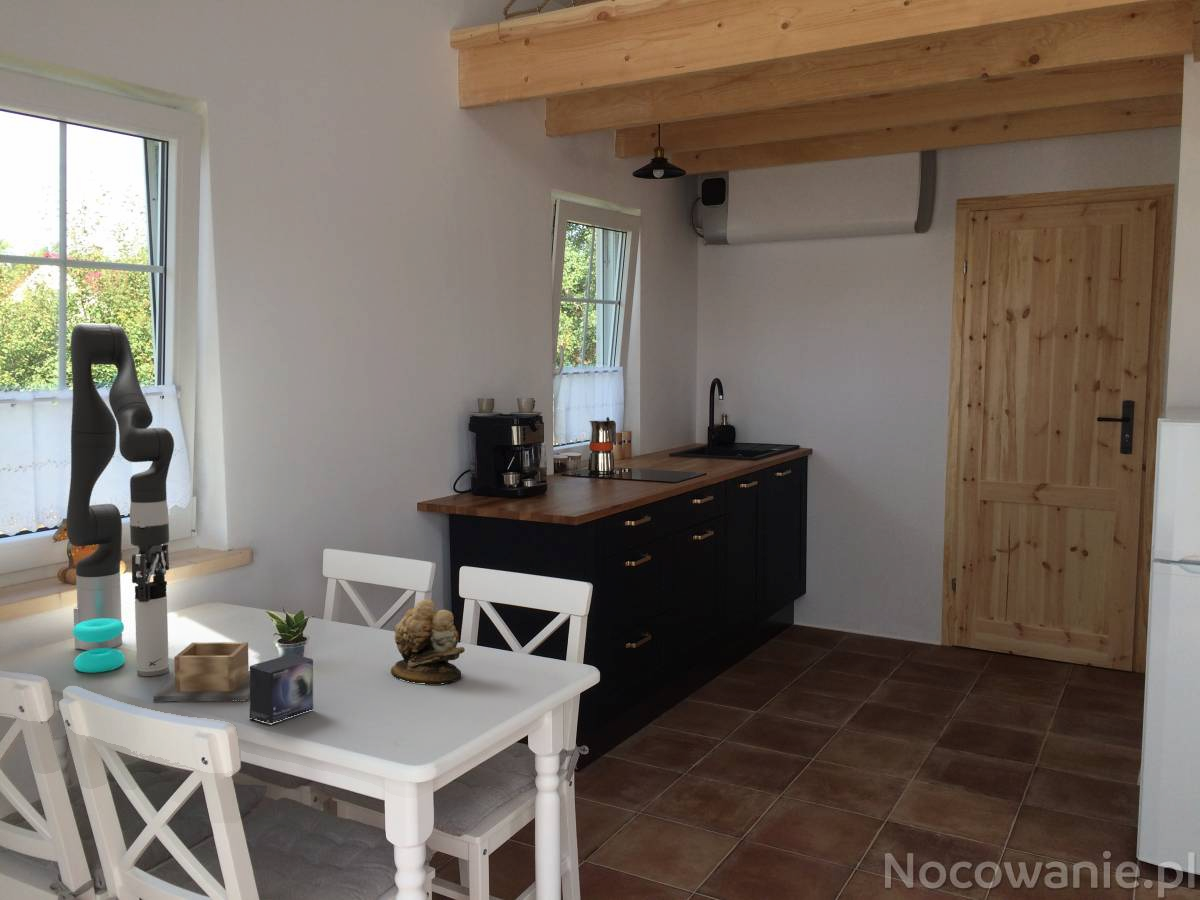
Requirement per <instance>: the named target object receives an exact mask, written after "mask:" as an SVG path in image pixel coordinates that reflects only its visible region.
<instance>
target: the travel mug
mask: <svg viewBox="0 0 1200 900" xmlns="http://www.w3.org/2000/svg"><path fill="white" fill-rule="evenodd" d="M149 584H150V601H148V602H139V601H138V585H135V586H134V609H135V610H134V611H135V613H134V614H135V617H134V618H135V643H136V645H135V648H136V649H135V650H136V652H135V654H136V674H137V675H138V676H140V677H144V676H152V677H158V675H159V676H162V675H164V673H165V674H167V673H168V672H169V670H170V665H169V631H168V628H169V627H168V599H167V598H168V595H167V585H168V582H167V580H165V581H155V582H153V581H150V582H149Z"/></svg>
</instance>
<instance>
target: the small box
mask: <svg viewBox="0 0 1200 900" xmlns="http://www.w3.org/2000/svg"><path fill="white" fill-rule="evenodd" d="M249 671H250V698H249V716H248V717H249V718H252V719H257V720H260V721H264V722H267V723H273V722H276V721H280V720H283V719H285V718H288V717H291V716H294V715H297V714H300V713H303V712H306V711H309V710H312V709H313V710H314V659H313V658H311V657H310V658H309V657H305V656H302V655H299V654H294V653H289V654H287V655H283V656H278V657H275V658H273V659H269V660H266V661H262V662H259V663H255V664H253V665H252V664H251V665H250V666H249ZM249 718H248V719H249Z"/></svg>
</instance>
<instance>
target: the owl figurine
mask: <svg viewBox="0 0 1200 900" xmlns="http://www.w3.org/2000/svg"><path fill="white" fill-rule="evenodd" d="M459 637H460V636H459V632H458V630H456V626H455V625H454V615H453V612H451V611H449V610H446V609H440V610H437V611H436V605H435V603H434V602H433V601H432V600H431V599H428V598H426V599H422V600H420V601H419V602H417V604H416V605H415V606H414V607H413V608H409V609H408V610H407V611H406V612H405V613H404V615H403V617H401V620H400V621H398V623H396V625H395V627H394V642H395V644H396V647H397V650H398V652H399V653H400V655H401V657H402V659H401V660H398V661H397V662H395V665H393V666H392V667H391V668H390V675H391V674H392V675H393V676H394V677H396V678H395V679H397V678H398V679H397V680H399V679H402V680H405V681H409V682H415V683H425V684H441V683H446V684H448V683H447V682H451V683H453V682H455V681H457V680H460V679H461V678H462V677H461V675H462V672H461V670H460V669H459V668H458V667H457V666H456V665H455V664H453V663H451V662H449V661H456V660H457V659H459V658H460V654H463V653H464V652H465V646H464V647H463V646H460V647H458V646H457V645H458V644H459V641H460V640H459ZM392 675H391V676H392ZM393 676H392V677H393ZM394 677H393V678H394ZM460 677H461V678H460ZM459 678H460V679H459ZM454 680H455V681H454ZM405 681H404V682H405ZM452 681H453V682H452ZM409 682H408V683H409Z"/></svg>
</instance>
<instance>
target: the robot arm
mask: <svg viewBox="0 0 1200 900" xmlns="http://www.w3.org/2000/svg"><path fill="white" fill-rule="evenodd" d="M70 359H71V362H70V363H71V379H72V381H71V382H72V408H71V409H72V411H71V424H70V425H71V430H70V434H71V435H70V458H71V459H70V464H71V465H70V468H71V469H70V484H69V491H68V492H69V493H68V501H67V511H66V521H65V522H66V525H65V527H66V535H67V538H68V541H69V543H70V544H71V545H72V546H73V547H78V548H79V547H86V546H88V547H89V546H98V547H96V550H95V551H93V552H92V553H91V554H90V555H88V556H86V557H84V558H83V559H80V560H79V561H78V562H76V565H75V575H76V576H75V579H76V580H75V581H76V606H75V607H73V628H74V627H75V626H76V625H77V624H79V623H81V622H83V621H87V620H92V619H101V618H111V619H117V620H120V621H121V622H122V596H121V595H122V593H121V591H122V590H121V562H122V561H121V560H122V537H123V536H122V535H123V522H122V515H121V512H120V510H119V508H118V507H117V506H116V505H115V504H112V503H102V504H92V505H90V504H91V503H90V502H91V497H92V492H93V490H94V488H95V485H96V484H97V481H98V480H99V478H100V477H101V476H102V474H103V472H104V471H105V470H106V468H107V467H108V466H109V464H110V462H111V460H112V459H113V457H114V455H115V452H116V449H117V427H118V434H119V435H118V436H119V441H118V443H119V444H118V446H119V448H118V449H119V453H120V455H121V457H122V458H123V459H125V460H126V461H128V462H129V463H130V462H131V463H143V462H145V463H146V462H151V465H150V466H149V468H148V469H147V470H144V471H142V472H139V473H135V474H132V476H131V477H130V479H129V489H130V491H129V492H130V495H129V497H130V508H129V528H130V529H129V530H130V533H129V534H130V544H131V545H132V546H133V547H138V553H137V554H136V553H135V554H132V555H131V583H132V584H136V585H137V586H138V601H139V602H148V601H150V584H149V582H151V577H152V576H153V577H152V578H153V579H152V580H153V581H152V582H155V581H166V577H165V576H166V575H167V571H169V570H170V559H169V544H168V543H169V542H170V522H169V519H170V518H169V508H168V507H169V506H168V500H167V478H168V473H169V469H170V464H171V461H172V458H173V454H174V448H175V440H174V437H173V435H172V433H171V431H169V430H168V429H167V428H164V427H152V428H151V427H150V426H151V425H152V423H153V418H154V416H153V413H152V410H151V408H150V406H149V404H148V401H147V400H146V398H145V395H144V394H143V390H142V388H141V385H140V382H139V381H140V380H139V378H138V372H137V368H136V363H135V360H134V359H135V358H134V355H133V351H132V348H131V343H130V341H129V337H128V335H127V333H126V331H125V329H124V328H123V327H122V326H120V325H117V324H112V323H92V322H91V323H89V322H87V323H86V322H79V323H77V324H75V325H74V326H73V328H72V331H71V334H70ZM94 365H99V366H101V365H103V366H109V365H110V366H113V365H114V366H115V367H116V370H117V373H116V377H115V379H114V381H113V383H112V385H111V387H110V389H109V394H108V401H109V406H110V408H111V409H110V408H109V407H108V405H107V404H106V402H105V400H104V399H103V398H102V396H101V395H100V393H99V392H98V388H97V387H96V385H95V382H94V379H93V378H94V377H93V371H92V370H93V369H92V366H94ZM149 427H150V428H149ZM122 623H123V622H122ZM73 637H74V649H79V650H84V651H88V650H92V649H97V648H112V647H113V648H117V647H118V645H119V646H120V644H121V643H123V632H122V633H121V634H120V635H119V636H117V637H116V638H114V639H111V640H107V641H102V642H84V641H81V640H78V639H77V638H76V637H75V636H74V635H73ZM121 645H122V644H121Z"/></svg>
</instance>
